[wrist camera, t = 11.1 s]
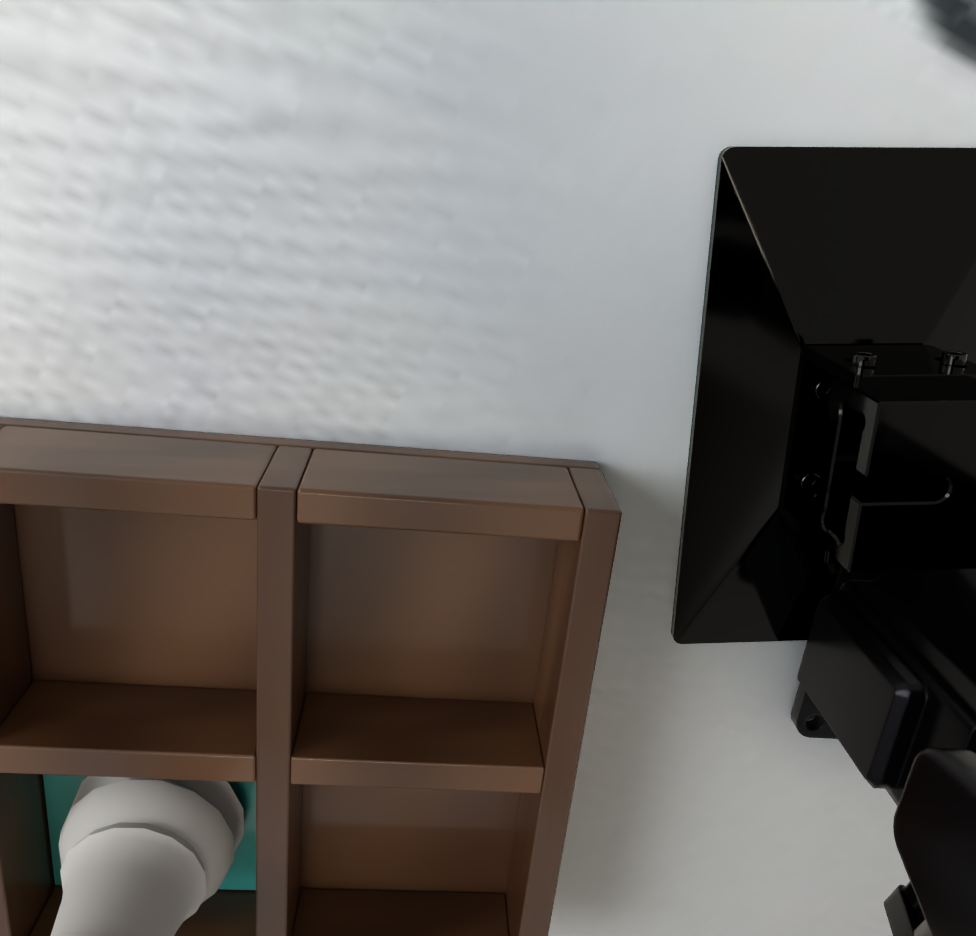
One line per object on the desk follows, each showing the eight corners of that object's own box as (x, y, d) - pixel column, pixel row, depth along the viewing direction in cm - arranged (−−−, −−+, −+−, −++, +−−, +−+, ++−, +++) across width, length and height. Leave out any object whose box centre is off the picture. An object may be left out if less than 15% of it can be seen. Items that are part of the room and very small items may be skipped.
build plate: (715, 146, 18) (804, 145, 14) (1037, 148, 19) (1220, 147, 14) (668, 637, 23) (724, 753, 18) (929, 630, 23) (1044, 741, 19)
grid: (597, 461, 20) (623, 512, 18) (527, 899, 26) (538, 991, 23) (-22, 414, 19) (-99, 461, 16) (36, 886, 24) (-15, 983, 21)
